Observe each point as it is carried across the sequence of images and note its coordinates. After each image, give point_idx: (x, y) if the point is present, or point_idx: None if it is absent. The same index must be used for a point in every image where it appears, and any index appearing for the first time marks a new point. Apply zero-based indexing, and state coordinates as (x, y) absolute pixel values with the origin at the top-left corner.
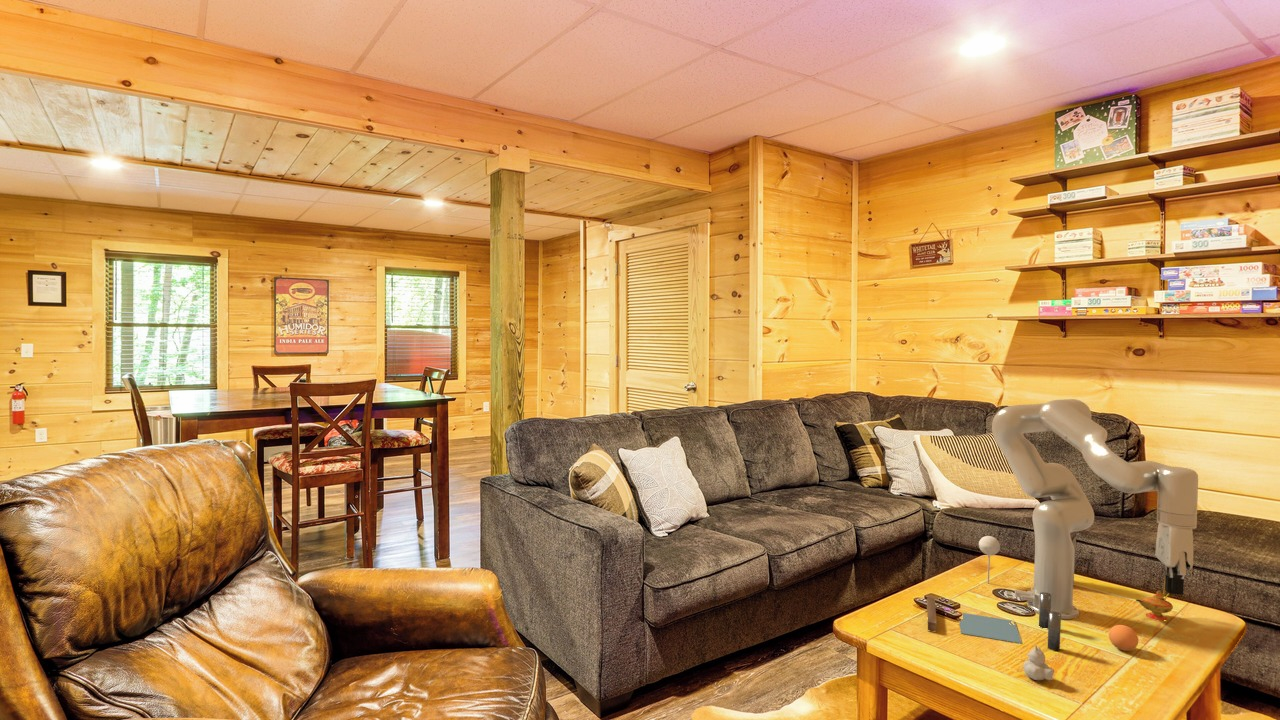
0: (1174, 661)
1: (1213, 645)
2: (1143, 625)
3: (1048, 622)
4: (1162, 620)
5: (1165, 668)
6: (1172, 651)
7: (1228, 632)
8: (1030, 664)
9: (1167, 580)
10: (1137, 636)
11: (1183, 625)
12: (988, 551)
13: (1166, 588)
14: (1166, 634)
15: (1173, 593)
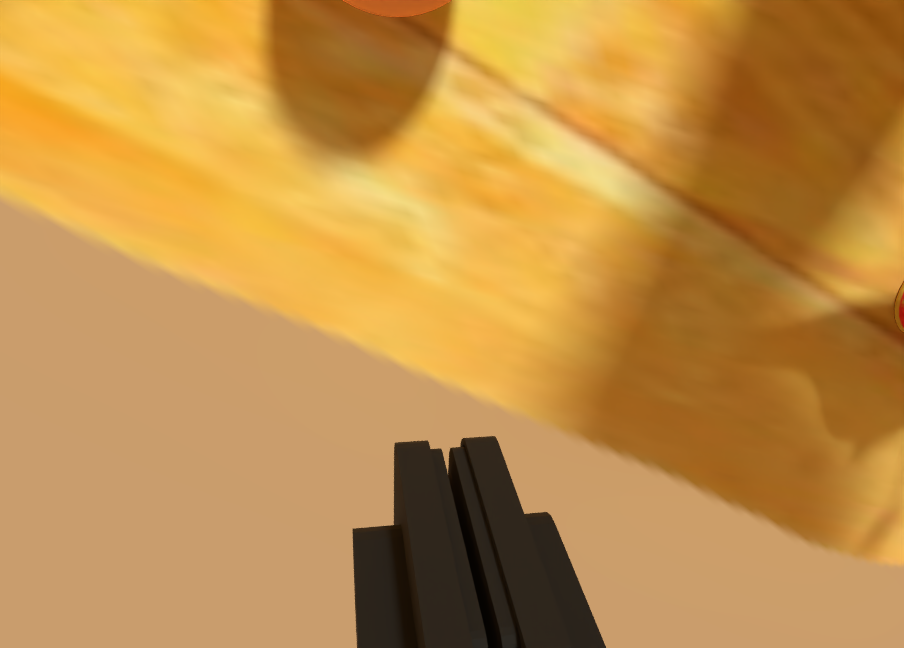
0: (329, 210)
1: (629, 445)
2: (831, 188)
3: None
4: (899, 308)
5: (178, 121)
6: (483, 241)
7: (789, 528)
8: None
9: (421, 597)
10: (377, 8)
11: (848, 386)
12: None
13: (434, 472)
14: (721, 277)
15: (395, 500)
